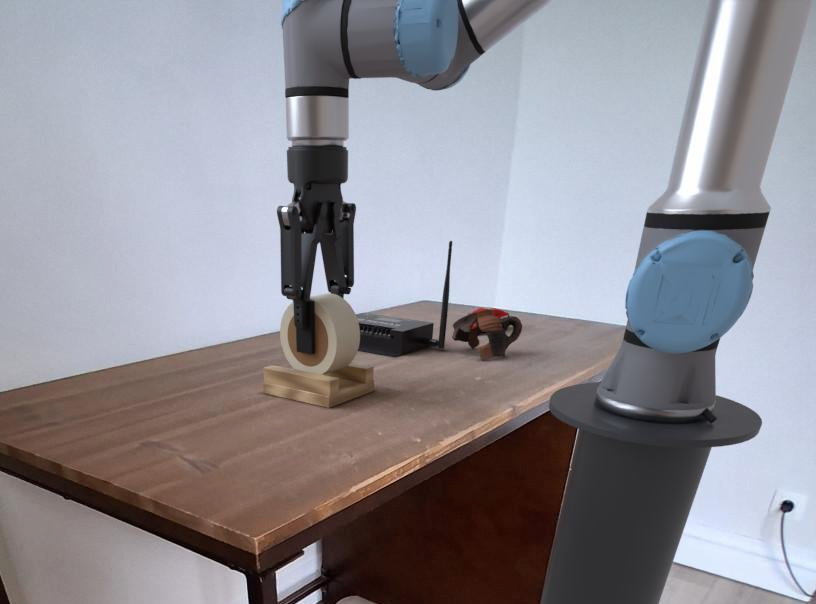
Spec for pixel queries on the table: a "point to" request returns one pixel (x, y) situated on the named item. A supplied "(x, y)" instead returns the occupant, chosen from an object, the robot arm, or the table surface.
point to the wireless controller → (402, 329)
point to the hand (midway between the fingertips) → (319, 348)
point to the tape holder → (319, 384)
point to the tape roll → (323, 336)
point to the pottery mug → (487, 332)
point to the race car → (497, 313)
